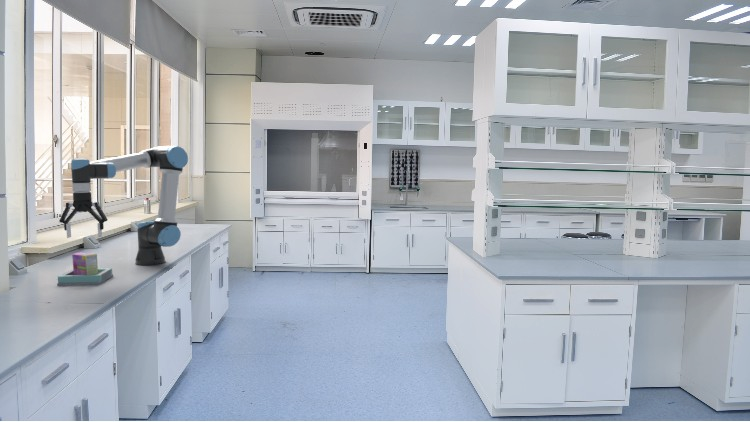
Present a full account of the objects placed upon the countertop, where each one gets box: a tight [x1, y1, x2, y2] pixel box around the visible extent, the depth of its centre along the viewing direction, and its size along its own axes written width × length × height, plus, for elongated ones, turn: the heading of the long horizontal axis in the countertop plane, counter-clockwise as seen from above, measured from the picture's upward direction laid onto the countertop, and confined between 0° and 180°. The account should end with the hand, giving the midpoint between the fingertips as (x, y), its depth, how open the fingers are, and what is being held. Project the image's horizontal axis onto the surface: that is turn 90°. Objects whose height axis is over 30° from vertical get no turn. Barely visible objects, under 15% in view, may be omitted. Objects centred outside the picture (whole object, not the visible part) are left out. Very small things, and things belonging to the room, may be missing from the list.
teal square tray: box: [56, 267, 114, 287], centre depth 248 cm, size 18×18×4 cm
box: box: [71, 251, 99, 275], centre depth 247 cm, size 10×6×12 cm, turn 62°
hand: (84, 237), depth 247 cm, fingers open, 13 cm apart
